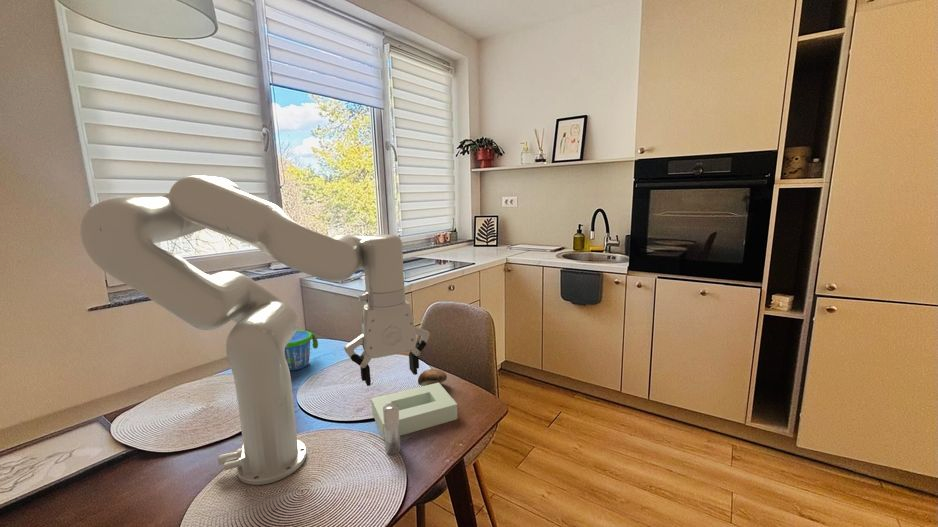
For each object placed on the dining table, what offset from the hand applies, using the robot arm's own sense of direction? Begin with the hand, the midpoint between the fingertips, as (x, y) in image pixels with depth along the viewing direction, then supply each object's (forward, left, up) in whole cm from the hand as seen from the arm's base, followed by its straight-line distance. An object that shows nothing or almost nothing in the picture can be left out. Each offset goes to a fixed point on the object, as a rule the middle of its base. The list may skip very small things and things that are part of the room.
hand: (391, 377), depth 79 cm
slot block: (+8, +10, -17) cm, 21 cm away
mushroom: (+17, +21, -17) cm, 32 cm away
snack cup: (-17, +54, -17) cm, 59 cm away
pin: (0, 0, -17) cm, 17 cm away
